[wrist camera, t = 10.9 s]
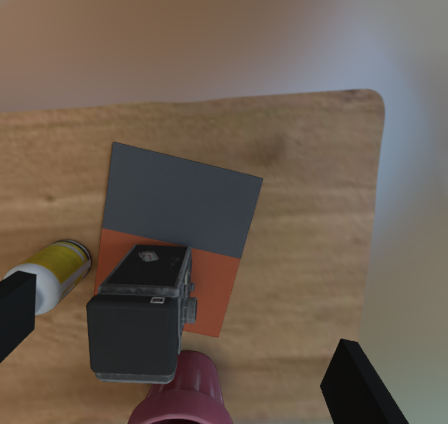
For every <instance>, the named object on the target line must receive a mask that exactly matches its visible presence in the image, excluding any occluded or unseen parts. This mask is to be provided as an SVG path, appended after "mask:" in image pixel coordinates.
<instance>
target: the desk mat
mask: <svg viewBox="0 0 448 424" xmlns="http://www.w3.org/2000/svg"><path fill="white" fill-rule="evenodd" d="M262 181H263V178H260V177H256V176H251V175H247V174H243V173H239V172H235V171H231V170H227V169H223V168H219V167H215V166H211V165H206V164H202V163H198V162H194V161H190V160H186V159H182V158H178V157H174V156H170V155H166V154H162V153H157V152H153V151H149V150H145V149H141V148H137V147H133V146H129V145H125V144H121V143H117V142H113V148H112V156H111V164H110V172H109V179H108V187H107V195H106V203H105V211H104V219H103V227H102V235H101V242H100V250H99V258H98V266H97V274H96V282H95V290H94V296H95V295H97V293H98V287H99V285H100V284H101V283H102V282H103V281H104V279H105V278H106V277H107V276H108V275H109V274H110V272H111V271H112V270H113V269H114V268H115V267H116V265H117V264H118V263H119V262H120V261H121V259H122V258H123V257H124V256H125V255H126V254H127V252H128V251H129V250H130V249H131V248H132V247H133V245H134V244H138V245H157V246H179V247H188V246H189V247H191V248H192V271H191V283H193V282H194V283H195V289H194V292H192V291H191V294H190V297H197V316H196V322H195V324H189V323H185V324H184V328H183V331H188V332H193V333H198V334H203V335H208V336H213V337H219V333H220V330H221V326H222V323H223V319H224V315H225V312H226V308H227V305H228V301H229V298H230V294H231V291H232V287H233V284H234V280H235V277H236V273H237V270H238V266H239V262H240V259H241V255H242V252H243V248H244V245H245V241H246V238H247V234H248V231H249V227H250V224H251V220H252V217H253V213H254V209H255V206H256V202H257V199H258V195H259V192H260V188H261V185H262Z"/></svg>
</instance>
